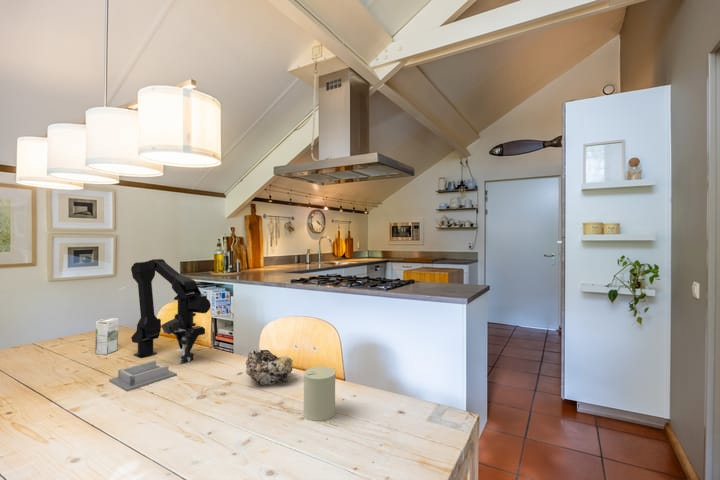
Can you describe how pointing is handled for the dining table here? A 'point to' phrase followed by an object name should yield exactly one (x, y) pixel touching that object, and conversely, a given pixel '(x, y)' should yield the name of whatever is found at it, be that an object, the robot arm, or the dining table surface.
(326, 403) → the can
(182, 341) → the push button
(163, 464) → the dining table surface
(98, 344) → the syrup box
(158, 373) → the dock
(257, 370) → the mineral specimen
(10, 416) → the dining table surface
